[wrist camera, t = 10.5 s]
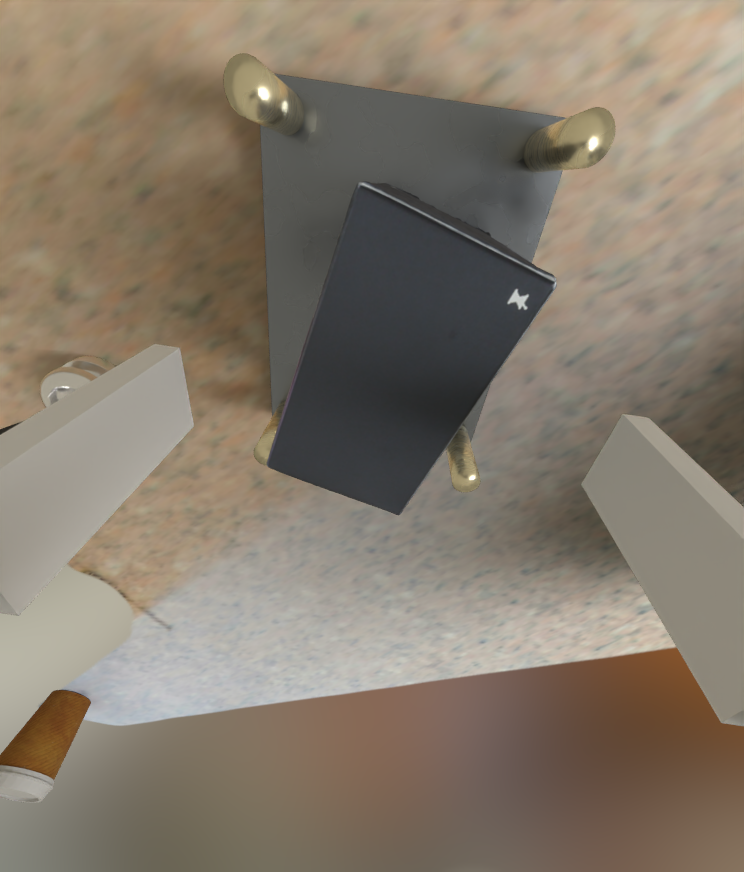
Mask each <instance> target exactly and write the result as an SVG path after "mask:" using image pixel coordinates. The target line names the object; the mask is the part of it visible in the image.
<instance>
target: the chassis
mask: <svg viewBox="0 0 744 872" xmlns="http://www.w3.org/2000/svg"><path fill="white" fill-rule="evenodd" d="M223 80H224V90H225V94H226V97H227V99H228V101H229V103H230V105H231V106H232V108H233V109H234V110H235V111H236V112H237V113H238V114H239V115H241V116H242V117H244V118H247V119H249V120H251V121H254V122H256V123H258V124H260V133H261V158H262V182H263V206H264V230H265V254H266V279H267V303H268V327H269V351H270V375H271V400H272V418H271V420H270V422H269V424H268V425H267V427H266V429H265V431H264V433H263V434H262V436H261V438H260V440H259V442H258V443H257V445H256V447H255V449H254V457H255V458H256V460H257V461H258V462H259V463H261V464H263V465H266V466H267V460H268V457H269V453H270V450H271V447H272V444H273V440H274V437H275V434H276V431H277V428H278V425H279V421H280V418H281V415H282V412H283V409H284V406H285V402H286V399H287V396H288V393H289V390H290V387H291V383H292V380H293V377H294V374H295V371H296V368H297V365H298V361H299V358H300V355H301V352H302V349H303V346H304V342H305V339H306V336H307V333H308V330H309V327H310V324H311V321H312V318H313V315H314V312H315V309H316V306H317V303H318V300H319V297H320V294H321V291H322V288H323V285H324V282H325V278H326V275H327V272H328V269H329V266H330V263H331V260H332V257H333V254H334V251H335V248H336V244H337V241H338V238H339V235H340V232H341V229H342V226H343V223H344V220H345V217H346V214H347V211H348V208H349V204H350V201H351V198H352V195H353V193H354V190H355V188H356V186H357V184H358V183H359V182H363V181H367V182H370V183H381V184H383V183H386V184H389V185H391V186H393V187H396V188H398V189H400V190H404V191H406V192H408V193H411V194H412V195H415V196H417V197H419V199H420V200H421V201H423V202H425V203H427V204H429V205H432V206H434V207H435V208H436V209H438V210H440V211H442V212H445V213H446V214H449V215H450V216H452V217H454V218H459V219H461V221H463V222H466V223H467V224H468V225H470V226H472V227H474V228H479V229H482V230H483V231H484V232H485V233H486V232H489V233H490V234H491V237H492V238H493V239H495V240H497V241H498V242H500V243H502V244H504V245H505V246H506V247H508V248H510V249H511V250H512V251H514V252H515V253H517V254H519V255H520V256H521V257H523V258H524V259H526V260H527V261H529V262H531V263H532V260H533V257H534V254H535V251H536V248H537V245H538V242H539V239H540V236H541V233H542V230H543V227H544V225H545V222H546V219H547V216H548V213H549V210H550V207H551V204H552V201H553V198H554V195H555V192H556V189H557V186H558V183H559V180H560V177H561V174H562V171H563V170H569V169H579V168H587V167H590V166H592V165H594V164H596V163H597V162H599V161H600V160H601V159H602V158H603V157H604V156H605V155H606V153H607V152H608V150H609V149H610V147H611V145H612V142H613V139H614V136H615V121H614V118H613V116H612V114H611V113H610V112H609V111H608V110H606V109H604V108H600V107H596V108H591V109H588V110H586V111H583V112H581V113H579V114H576V115H574V116H571V117H569V118H563V117H557V116H550V115H544V114H537V113H530V112H524V111H517V110H510V109H504V108H497V107H491V106H484V105H477V104H471V103H464V102H458V101H451V100H444V99H438V98H431V97H424V96H418V95H411V94H405V93H398V92H391V91H385V90H378V89H372V88H365V87H358V86H352V85H345V84H338V83H332V82H325V81H319V80H312V79H305V78H299V77H292V76H286V75H279V74H273V73H272V72H271V71H270V70H269V69H268V68H267V67H265V66H264V65H263V64H262V63H261V62H260V61H259V60H257V59H256V58H255V57H253V56H251V55H249V54H243V53H242V54H238V55H235V56H234V57H232V58H231V59H230V60H229V62H228V63H227V65H226V68H225V71H224V79H223ZM489 387H490V385H489V386H488V388H487V389H486V391H485V392H484V393H483V395H482V396H481V398H480V399H479V401H478V402H477V404H476V405H475V407H474V408H473V410H472V411H471V413H470V414H469V416H468V417H467V418H466V420H465V421H464V423H463V424H462V426H461V427H460V429H459V430H458V432H457V433H456V435H455V436H454V437H453V439H452V440H451V442H450V443H449V445H448V446H447V448H446V450H447V456H448V462H449V467H450V473H451V479H452V484H453V487H454V488H455V489H456V490H458V491H460V492H471V491H473V490H475V489H476V488H478V486H479V485H480V476H479V473H478V469H477V465H476V462H475V458H474V454H473V451H472V447H471V440H472V437H473V434H474V431H475V428H476V425H477V422H478V419H479V416H480V413H481V410H482V407H483V404H484V401H485V398H486V396H487V393H488V390H489Z"/></svg>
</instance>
